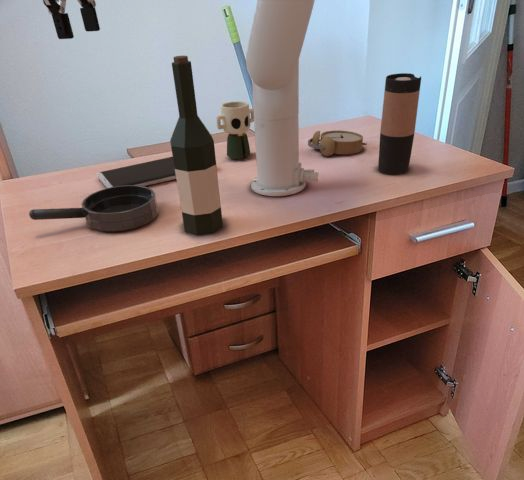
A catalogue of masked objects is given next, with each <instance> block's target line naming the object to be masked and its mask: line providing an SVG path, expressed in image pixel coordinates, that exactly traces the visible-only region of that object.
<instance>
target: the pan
mask: <svg viewBox="0 0 524 480" xmlns="http://www.w3.org/2000/svg"><path fill="white" fill-rule="evenodd" d="M156 196H157V195H156V192H155V191H154V189H151V188H150V187H149V186H148V187H147V186H138V185H124V186H115V187H110V188H106V187H105V188H103V189H100V190H97V191H95V192H92V193H91V194H88V195H87V196H86V197H85V198H84V199H83V200H82V202H81V208H83V211H84V214H85V217H84V218H85V221H86V224H87V226H88V227H90V228H91V229H94V230H98V231H100V232H105V233H106V232H108V233H109V232H110V233H117V232H126V231H131V230H134V229H138V228H141V227H143V226H146V225H147V224H148V223H149V224H150V222H152V221H153V220H154V219H155V218H156V217H157V216H158V213H159V207H158V202H157V201H158V200H157V197H156Z"/></svg>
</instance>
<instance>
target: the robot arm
mask: <svg viewBox="0 0 524 480" xmlns="http://www.w3.org/2000/svg"><path fill="white" fill-rule="evenodd" d="M42 2H43V4H44V6H45V7H46V8H47V11H48V14H49V15H51V18H52V21H53V25H54V29H55V32H56V36H57V38H58V39H59V40H72V39H74V37H75V36H74V31H73V28H72V23H71V20H70V16H69V13H68V12H66V5H67V0H42ZM77 2H78V4H79V5H80V6H81V7H80V8H79V9H80V10H79V11H80V15H81V19H82V23H83V27H84V30H85V31H86V32H87V33H89V32H99V31H101V27H100V23H99V19H98V14H97V9H96V6H97V3H96V1H95V0H77ZM315 2H316V0H257V1H256V6H255V11H254V15H253V21H252V25H251V30H250V35H249V40H248V44H247V49H246V53H245V66H246V70H247V73H248V75H249V78H250V79H251V80H252V82H251V83H252V105H253V106H252V107H253V108H252V109H253V110H254V122H253V125H254V126H253V127H254V142H255V143H254V144H255V159H256V177H254V178H253V179H252V180H251V182H250V187H251V190H252V191H253V192H254V193H256V194H258V195H262V196H265V197H286V196H290V195H294V194H297V193H299V192H302V191H303V190H304V189H305V187H306V186H307V181H308V182H319V172H318V171H315V169H305V168H303V167H302V166H303V165H302V164H303V163H302V162H300V146H299V145H300V142H299V139H300V131H299V130H300V128H299V127H300V126H299V122H300V121H299V113H300V108H299V106H300V102H299V101H300V100H299V99H300V97H299V94H300V93H299V85H300V83H299V81H300V80H299V79H300V76H299V75H300V73H299V72H300V58H301V57H300V56H301V53H302V49H303V46H304V42H305V39H306V35H307V32H308V27H309V24H310V20H311V17H312V13H313V9H314V5H315Z"/></svg>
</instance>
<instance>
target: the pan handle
mask: <svg viewBox="0 0 524 480" xmlns="http://www.w3.org/2000/svg"><path fill="white" fill-rule="evenodd" d="M28 216H29V218H30V219H31V220H34V221H40V220H41V221H42V220H65V219H84V218H85V214H84V211H83V208H82V207H65V208H37V209H31V210H30V211H29V212H28Z"/></svg>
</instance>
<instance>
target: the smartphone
mask: <svg viewBox="0 0 524 480" xmlns="http://www.w3.org/2000/svg"><path fill="white" fill-rule="evenodd" d="M97 178H98V179H99V181H100V182H101V183H102V184H103V185H104V187H105V189H106V188H110V187H115V186H124V185H138V186H144V187H147V186H152V185H155V184H160V183H165V182H169V181H173V180H176V174H175V167H174V161H173V156H169V157H164V158H160V159H155V160H151V161H150V160H149V161H145V162H140V163H136V164H135V163H134V164H131V165H126V166H122V167H117V168H113V169H112V168H111V169H107V170H103V171H99V172H98V173H97Z"/></svg>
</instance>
